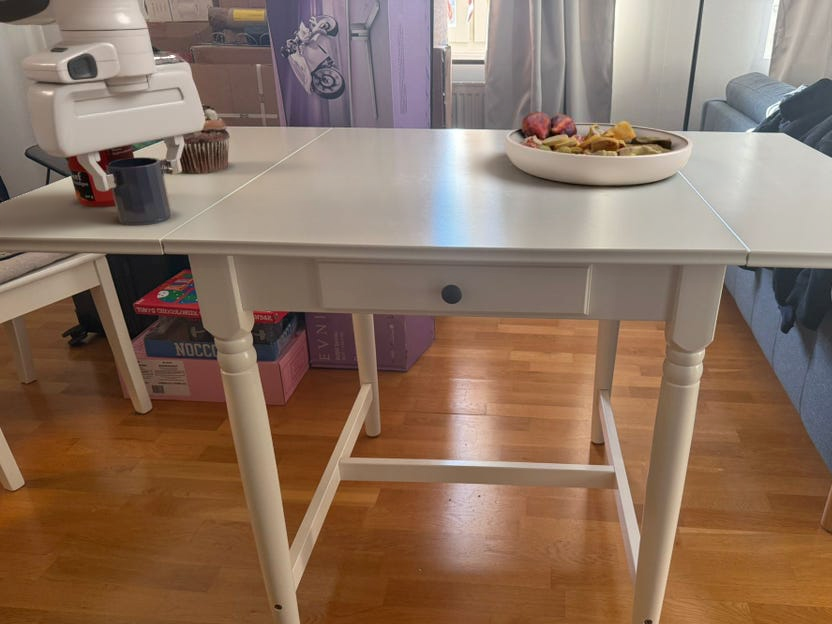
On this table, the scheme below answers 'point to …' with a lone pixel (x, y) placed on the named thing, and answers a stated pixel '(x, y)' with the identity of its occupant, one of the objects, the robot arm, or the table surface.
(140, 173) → the pot
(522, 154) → the bowl
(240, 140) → the table surface
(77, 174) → the canned food
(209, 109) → the cupcake
